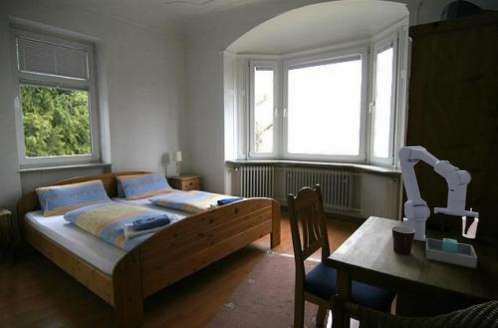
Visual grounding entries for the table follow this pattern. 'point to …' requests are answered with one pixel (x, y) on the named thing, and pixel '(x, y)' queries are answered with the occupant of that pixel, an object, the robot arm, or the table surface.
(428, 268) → the table surface
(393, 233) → the coffee mug
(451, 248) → the teal block
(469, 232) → the beverage cup
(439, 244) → the gray tray
